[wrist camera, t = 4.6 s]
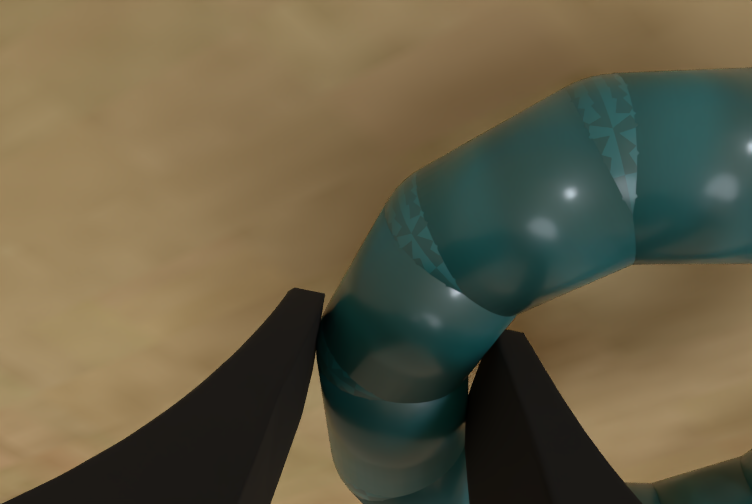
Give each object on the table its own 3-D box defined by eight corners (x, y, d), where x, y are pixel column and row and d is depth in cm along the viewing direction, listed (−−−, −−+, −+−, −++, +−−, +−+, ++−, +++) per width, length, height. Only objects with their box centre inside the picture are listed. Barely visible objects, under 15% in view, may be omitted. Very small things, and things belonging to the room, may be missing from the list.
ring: (666, 582, 18) (703, 700, 15) (253, 417, 16) (217, 522, 13) (1146, 253, 11) (1349, 366, 9) (547, -109, 9) (587, -99, 7)
